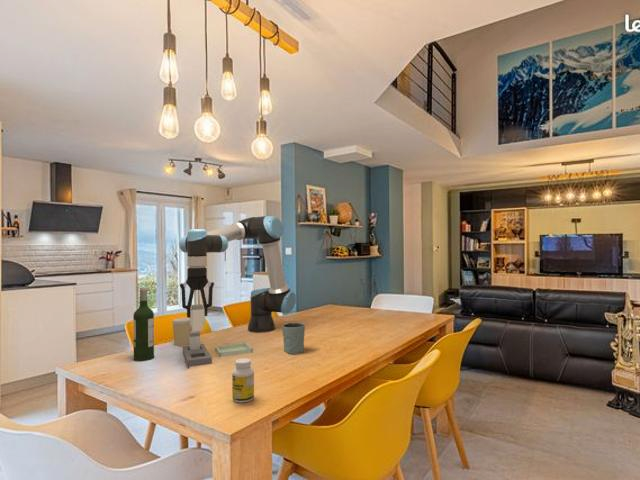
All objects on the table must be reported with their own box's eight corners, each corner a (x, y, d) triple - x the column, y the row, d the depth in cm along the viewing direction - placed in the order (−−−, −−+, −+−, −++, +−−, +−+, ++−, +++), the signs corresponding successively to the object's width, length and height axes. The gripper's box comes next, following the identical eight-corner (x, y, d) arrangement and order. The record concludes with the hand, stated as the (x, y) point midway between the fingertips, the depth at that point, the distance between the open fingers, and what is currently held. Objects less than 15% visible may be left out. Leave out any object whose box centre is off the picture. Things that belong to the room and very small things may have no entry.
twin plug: (198, 353, 164) (198, 330, 165) (200, 355, 161) (199, 332, 161) (189, 354, 163) (189, 331, 163) (190, 357, 159) (190, 333, 159)
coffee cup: (196, 341, 186) (196, 317, 186) (187, 346, 176) (187, 321, 176) (178, 341, 186) (178, 317, 187) (168, 346, 177) (168, 321, 177)
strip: (203, 350, 169) (203, 342, 169) (211, 365, 147) (211, 355, 147) (182, 353, 165) (182, 344, 165) (187, 368, 143) (187, 359, 144)
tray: (246, 347, 173) (246, 342, 173) (252, 353, 162) (252, 348, 162) (215, 351, 167) (215, 346, 167) (219, 358, 156) (219, 352, 156)
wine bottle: (135, 357, 160) (134, 287, 161) (155, 355, 163) (154, 286, 164) (131, 362, 153) (131, 289, 154) (152, 360, 155) (152, 288, 156)
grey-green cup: (302, 348, 170) (301, 321, 171) (308, 353, 161) (307, 325, 161) (280, 350, 167) (279, 323, 167) (285, 356, 158) (285, 327, 158)
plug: (201, 328, 154) (201, 304, 154) (203, 330, 150) (202, 305, 150) (191, 329, 152) (191, 305, 152) (192, 331, 148) (192, 306, 149)
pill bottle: (229, 397, 114) (229, 359, 115) (249, 393, 118) (249, 356, 118) (236, 405, 109) (236, 365, 109) (257, 400, 112) (257, 361, 113)
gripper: (217, 266, 159) (217, 321, 158) (174, 267, 152) (174, 325, 151) (220, 266, 152) (220, 324, 151) (175, 268, 145) (175, 328, 144)
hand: (197, 324), depth 151 cm, fingers closed on plug, 4 cm apart
